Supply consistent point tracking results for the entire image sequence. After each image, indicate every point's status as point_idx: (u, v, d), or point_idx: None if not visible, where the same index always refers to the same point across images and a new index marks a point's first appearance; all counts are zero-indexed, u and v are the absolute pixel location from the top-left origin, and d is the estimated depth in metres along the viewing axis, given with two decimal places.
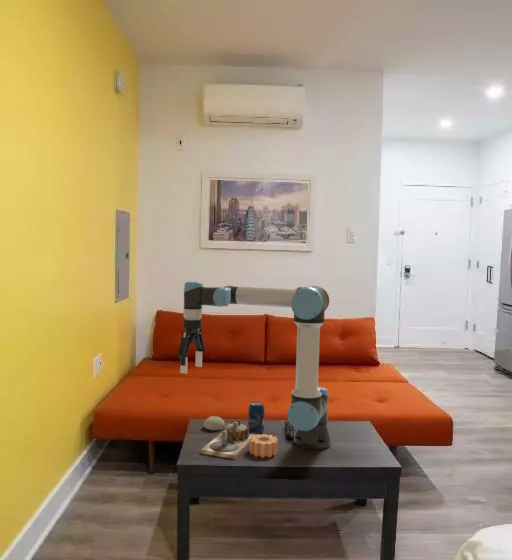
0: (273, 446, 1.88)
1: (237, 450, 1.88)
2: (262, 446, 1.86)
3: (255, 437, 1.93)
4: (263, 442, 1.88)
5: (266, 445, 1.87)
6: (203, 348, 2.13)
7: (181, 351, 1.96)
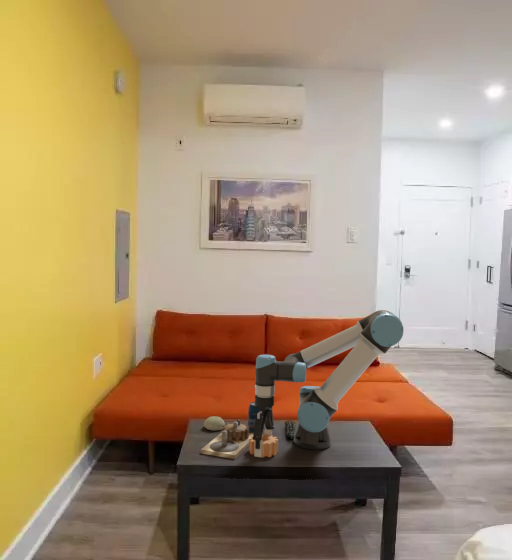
0: (273, 446, 1.88)
1: (237, 450, 1.88)
2: (262, 446, 1.86)
3: None
4: (263, 442, 1.88)
5: (266, 445, 1.87)
6: (272, 425, 1.99)
7: (256, 434, 1.83)
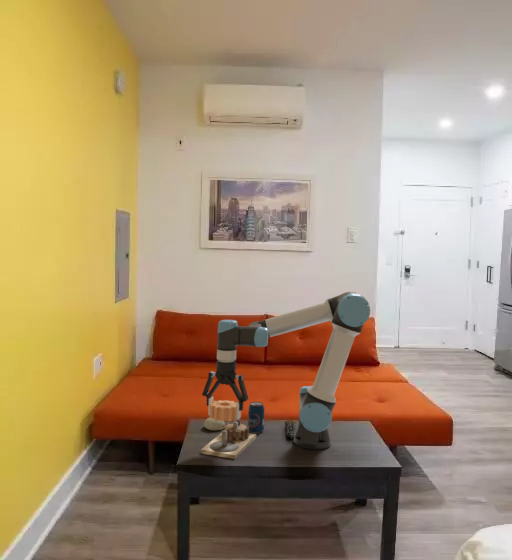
0: None
1: (237, 450, 1.88)
2: (210, 405, 1.92)
3: (228, 401, 1.94)
4: (215, 403, 1.91)
5: None
6: (243, 400, 1.88)
7: None
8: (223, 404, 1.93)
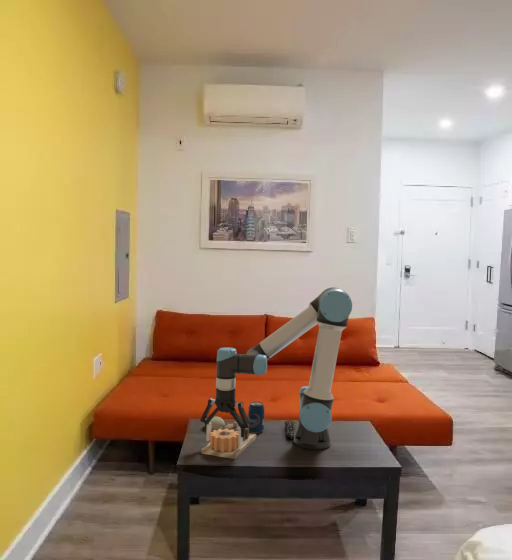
0: None
1: (237, 450, 1.88)
2: (210, 434, 1.92)
3: (228, 430, 1.95)
4: (215, 433, 1.92)
5: None
6: (245, 427, 1.88)
7: None
8: None
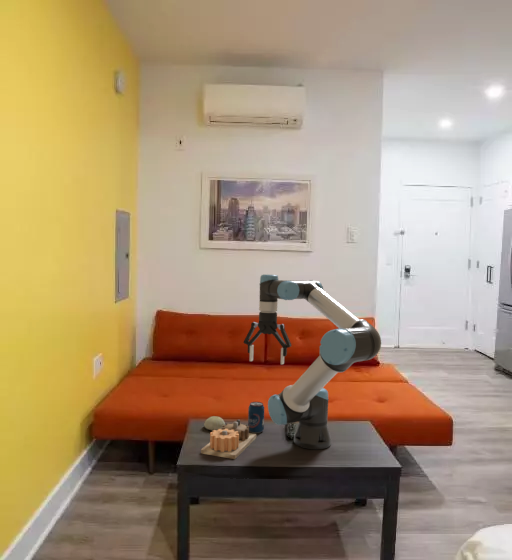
0: None
1: (237, 450, 1.88)
2: (210, 434, 1.92)
3: (228, 430, 1.95)
4: (215, 433, 1.92)
5: None
6: (287, 346, 2.02)
7: None
8: None
